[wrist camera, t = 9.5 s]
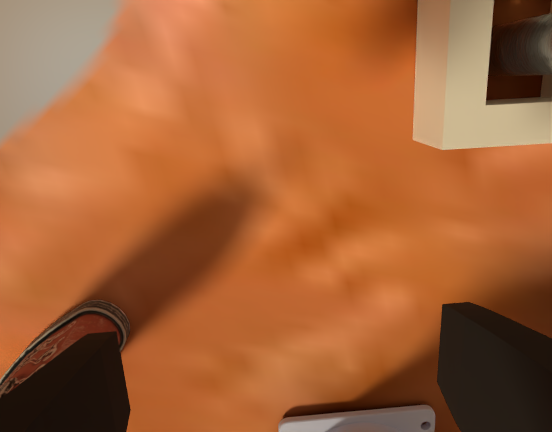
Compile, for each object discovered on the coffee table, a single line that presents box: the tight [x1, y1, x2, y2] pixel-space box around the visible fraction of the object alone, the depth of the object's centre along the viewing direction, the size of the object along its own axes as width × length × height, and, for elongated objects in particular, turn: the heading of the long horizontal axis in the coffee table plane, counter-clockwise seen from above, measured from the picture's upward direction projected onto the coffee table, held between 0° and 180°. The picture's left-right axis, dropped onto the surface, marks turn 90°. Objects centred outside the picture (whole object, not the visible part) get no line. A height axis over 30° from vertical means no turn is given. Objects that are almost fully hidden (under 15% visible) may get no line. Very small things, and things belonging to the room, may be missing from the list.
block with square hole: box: [413, 0, 552, 150], centre depth 17 cm, size 7×7×3 cm
